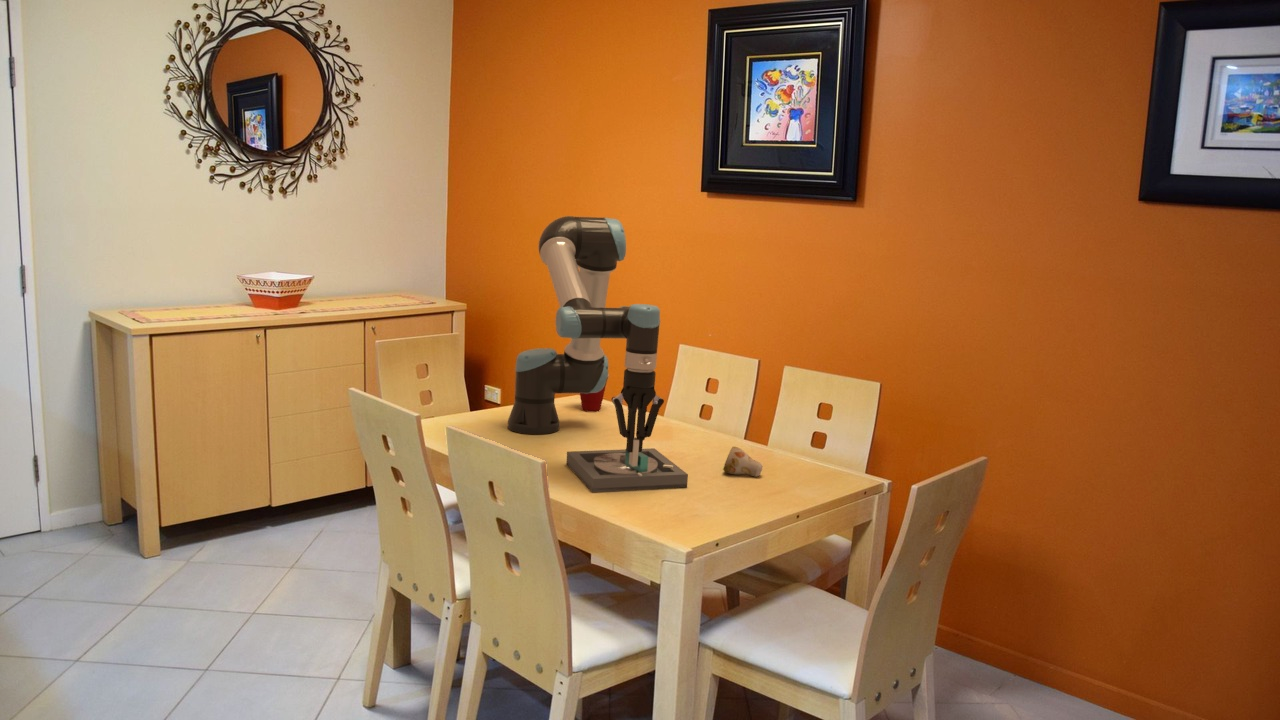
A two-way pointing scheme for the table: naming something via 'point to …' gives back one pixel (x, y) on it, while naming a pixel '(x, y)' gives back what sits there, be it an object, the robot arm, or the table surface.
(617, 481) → the housing
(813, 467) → the table surface
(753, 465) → the beige spotted tapered lump
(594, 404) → the plastic cup
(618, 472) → the dial
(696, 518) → the table surface
